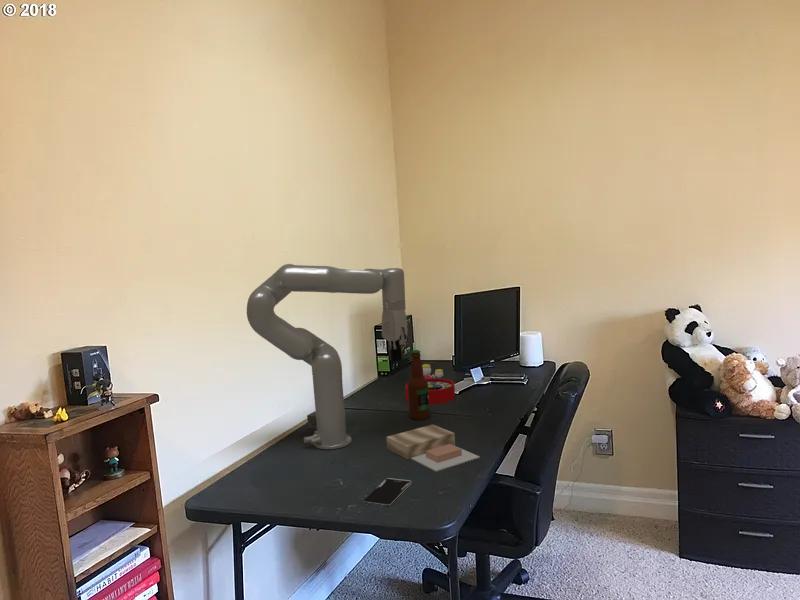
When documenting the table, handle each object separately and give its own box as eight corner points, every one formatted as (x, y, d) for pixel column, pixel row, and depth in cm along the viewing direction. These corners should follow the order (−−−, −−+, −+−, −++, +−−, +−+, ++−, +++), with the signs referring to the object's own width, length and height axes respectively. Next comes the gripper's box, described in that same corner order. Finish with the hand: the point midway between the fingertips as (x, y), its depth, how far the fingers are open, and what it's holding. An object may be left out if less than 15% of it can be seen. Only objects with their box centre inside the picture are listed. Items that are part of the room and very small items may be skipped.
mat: (436, 471, 178) (436, 470, 178) (411, 459, 189) (411, 457, 189) (479, 457, 187) (479, 456, 187) (453, 446, 198) (453, 445, 198)
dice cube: (308, 428, 226) (307, 415, 225) (316, 424, 230) (314, 411, 230) (319, 430, 223) (318, 416, 223) (327, 425, 228) (326, 412, 227)
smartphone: (362, 501, 161) (387, 477, 174) (363, 506, 161) (387, 482, 175) (389, 504, 158) (412, 480, 171) (390, 509, 158) (412, 485, 171)
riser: (407, 459, 189) (406, 446, 189) (387, 448, 200) (386, 436, 199) (455, 445, 199) (454, 433, 198) (433, 436, 209) (432, 424, 208)
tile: (425, 450, 189) (425, 457, 189) (437, 456, 184) (437, 462, 184) (449, 443, 194) (449, 450, 194) (461, 448, 189) (461, 455, 189)
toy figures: (446, 381, 280) (445, 363, 279) (443, 384, 276) (442, 365, 275) (420, 380, 284) (419, 362, 283) (417, 383, 280) (416, 365, 279)
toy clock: (399, 391, 248) (411, 378, 267) (400, 405, 248) (412, 391, 267) (449, 391, 243) (457, 378, 262) (450, 405, 243) (458, 392, 262)
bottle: (426, 421, 225) (422, 352, 222) (407, 420, 228) (403, 352, 225) (432, 414, 232) (428, 348, 229) (413, 414, 235) (409, 348, 232)
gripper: (373, 304, 211) (376, 358, 213) (395, 308, 198) (397, 365, 200) (393, 302, 215) (395, 355, 217) (415, 306, 202) (417, 362, 204)
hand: (396, 360), depth 209 cm, fingers closed
